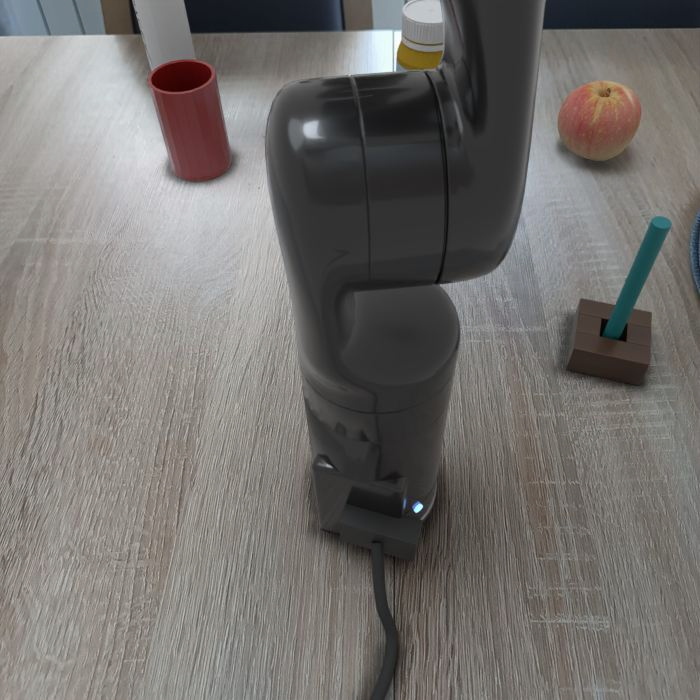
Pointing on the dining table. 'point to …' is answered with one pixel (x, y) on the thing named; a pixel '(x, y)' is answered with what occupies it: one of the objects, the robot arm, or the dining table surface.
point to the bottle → (420, 36)
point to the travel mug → (164, 31)
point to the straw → (637, 276)
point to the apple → (599, 120)
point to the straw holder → (609, 344)
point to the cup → (191, 118)
